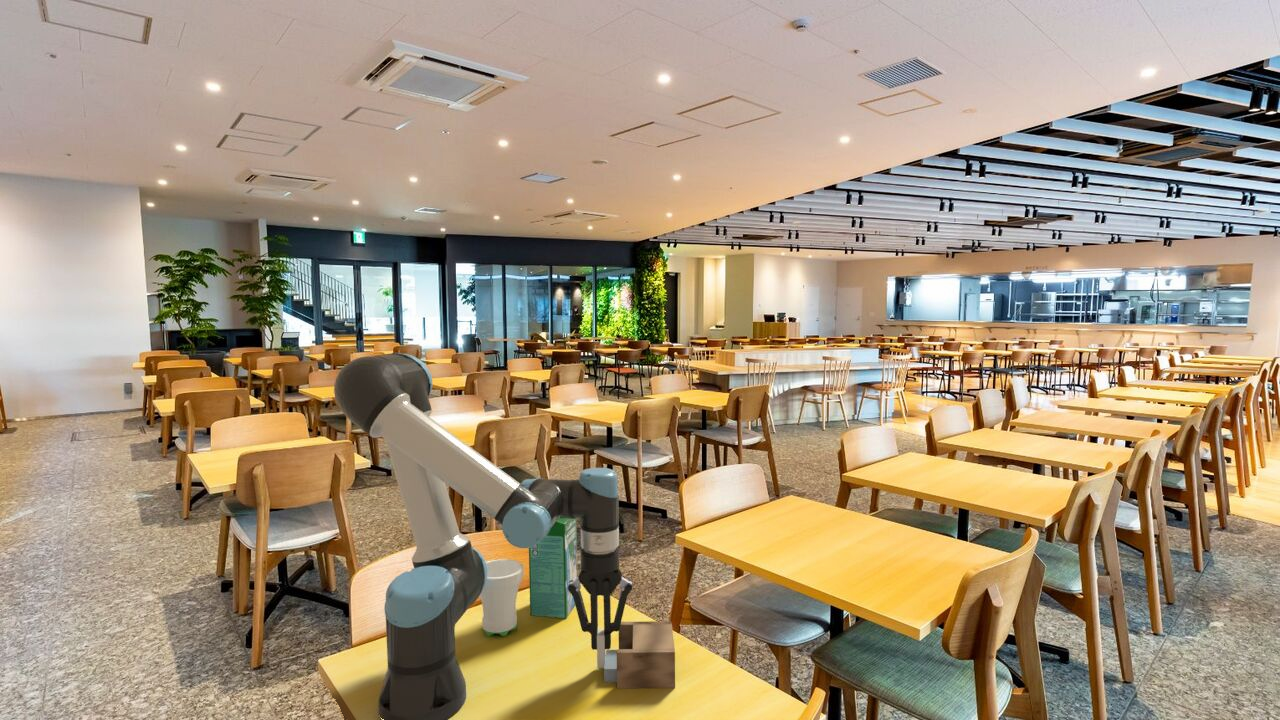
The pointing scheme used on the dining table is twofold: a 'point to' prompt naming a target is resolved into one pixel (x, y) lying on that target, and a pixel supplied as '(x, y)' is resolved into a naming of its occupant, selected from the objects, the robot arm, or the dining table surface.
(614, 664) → the slab
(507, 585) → the cup
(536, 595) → the milk carton
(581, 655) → the dining table surface
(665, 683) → the brown notched block
